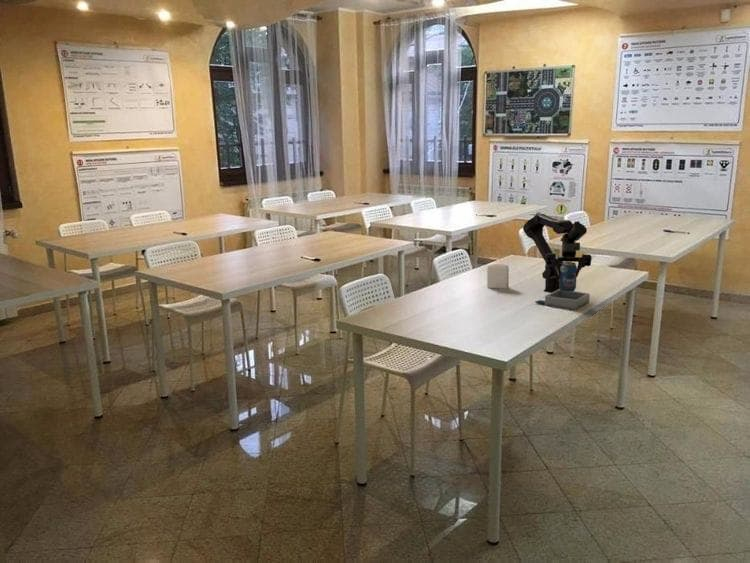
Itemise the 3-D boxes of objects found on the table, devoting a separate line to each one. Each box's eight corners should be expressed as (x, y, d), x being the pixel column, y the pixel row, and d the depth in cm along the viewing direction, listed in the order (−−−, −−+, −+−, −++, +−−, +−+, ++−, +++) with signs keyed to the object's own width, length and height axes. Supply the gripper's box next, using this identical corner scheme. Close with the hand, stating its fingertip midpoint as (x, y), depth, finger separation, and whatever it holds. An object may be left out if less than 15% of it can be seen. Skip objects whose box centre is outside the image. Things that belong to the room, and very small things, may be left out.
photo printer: (486, 288, 305) (486, 263, 302) (487, 286, 309) (488, 261, 306) (507, 289, 302) (508, 264, 299) (509, 287, 306) (509, 262, 303)
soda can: (563, 293, 271) (565, 265, 268) (556, 288, 278) (557, 262, 275) (578, 291, 272) (580, 264, 269) (570, 287, 279) (572, 261, 276)
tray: (544, 305, 276) (545, 296, 275) (558, 297, 286) (559, 289, 285) (575, 310, 267) (576, 301, 266) (589, 302, 277) (589, 293, 276)
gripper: (547, 235, 275) (546, 265, 268) (592, 236, 270) (592, 267, 263) (546, 249, 284) (545, 279, 277) (590, 250, 280) (590, 280, 272)
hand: (568, 276), depth 272 cm, fingers closed on soda can, 7 cm apart
